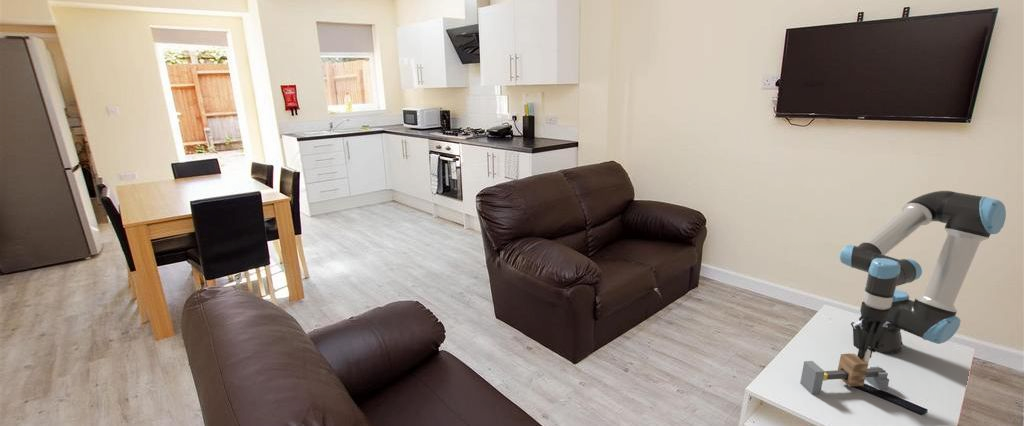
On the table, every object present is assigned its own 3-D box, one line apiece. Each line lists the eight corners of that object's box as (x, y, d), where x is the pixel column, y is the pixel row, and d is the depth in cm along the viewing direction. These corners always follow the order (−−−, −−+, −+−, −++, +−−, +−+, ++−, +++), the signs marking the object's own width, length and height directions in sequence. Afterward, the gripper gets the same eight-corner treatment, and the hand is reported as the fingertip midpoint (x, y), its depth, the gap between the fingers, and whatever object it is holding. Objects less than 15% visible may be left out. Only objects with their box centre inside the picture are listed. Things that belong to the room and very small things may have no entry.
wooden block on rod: (849, 374, 163) (854, 353, 160) (863, 385, 157) (868, 363, 154) (836, 375, 162) (840, 354, 160) (849, 386, 157) (854, 364, 154)
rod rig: (872, 378, 164) (877, 356, 161) (886, 389, 158) (892, 367, 156) (800, 383, 162) (804, 361, 160) (811, 394, 157) (816, 371, 154)
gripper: (885, 298, 155) (871, 358, 162) (848, 300, 155) (835, 360, 161) (905, 308, 148) (889, 371, 155) (866, 310, 147) (852, 373, 154)
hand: (862, 365), depth 158 cm, fingers closed
